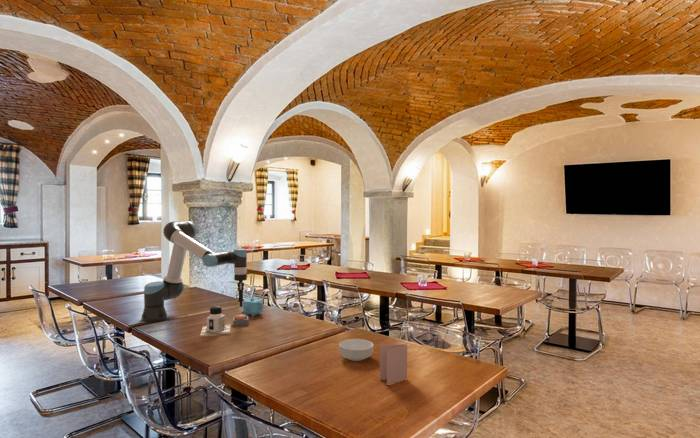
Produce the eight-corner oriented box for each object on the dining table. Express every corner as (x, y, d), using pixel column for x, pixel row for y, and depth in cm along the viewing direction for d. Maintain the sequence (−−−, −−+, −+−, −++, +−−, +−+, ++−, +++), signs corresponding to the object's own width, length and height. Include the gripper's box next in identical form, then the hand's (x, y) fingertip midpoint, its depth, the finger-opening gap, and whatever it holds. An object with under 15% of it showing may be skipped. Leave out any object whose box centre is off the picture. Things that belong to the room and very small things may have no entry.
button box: (233, 322, 267) (233, 316, 266) (248, 321, 269) (248, 315, 269) (233, 326, 258) (233, 320, 258) (248, 325, 260) (248, 319, 260)
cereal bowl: (362, 367, 193) (362, 352, 192) (332, 360, 201) (332, 345, 201) (379, 356, 207) (379, 342, 207) (350, 350, 216) (350, 336, 216)
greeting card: (406, 378, 180) (406, 343, 180) (409, 386, 173) (409, 349, 172) (379, 379, 180) (379, 344, 179) (381, 386, 172) (381, 350, 172)
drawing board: (202, 327, 254) (202, 325, 254) (230, 326, 258) (230, 323, 258) (200, 336, 237) (200, 334, 237) (229, 334, 241) (229, 332, 241)
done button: (235, 318, 265) (235, 314, 265) (245, 318, 267) (245, 314, 267) (235, 321, 260) (235, 317, 260) (245, 320, 261) (245, 316, 261)
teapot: (235, 316, 280) (235, 299, 280) (251, 310, 297) (251, 294, 297) (255, 319, 274) (255, 301, 274) (270, 312, 291) (270, 296, 291)
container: (218, 331, 243) (218, 308, 242) (206, 330, 244) (206, 308, 244) (225, 327, 250) (225, 305, 250) (213, 326, 252) (212, 305, 251)
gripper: (246, 275, 257) (247, 313, 258) (246, 271, 270) (247, 308, 270) (234, 275, 255) (234, 314, 256) (234, 272, 268) (234, 309, 268)
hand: (241, 311), depth 263 cm, fingers closed
